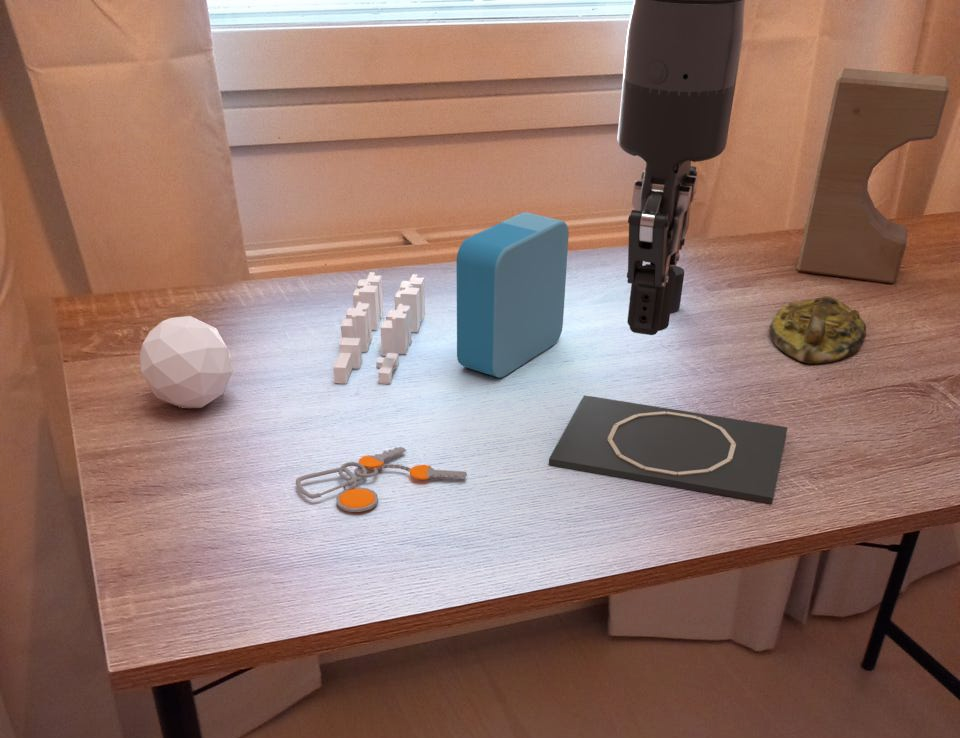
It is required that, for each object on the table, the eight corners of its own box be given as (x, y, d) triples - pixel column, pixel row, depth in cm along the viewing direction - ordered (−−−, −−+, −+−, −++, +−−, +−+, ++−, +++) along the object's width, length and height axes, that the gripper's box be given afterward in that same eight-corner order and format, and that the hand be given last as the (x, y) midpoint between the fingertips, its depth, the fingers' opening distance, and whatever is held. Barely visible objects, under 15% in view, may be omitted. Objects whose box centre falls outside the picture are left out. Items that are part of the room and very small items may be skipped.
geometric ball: (193, 441, 91) (140, 397, 84) (161, 379, 94) (107, 331, 87) (262, 393, 91) (214, 344, 83) (227, 331, 94) (179, 280, 86)
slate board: (786, 433, 88) (787, 426, 88) (771, 504, 79) (773, 496, 79) (583, 401, 92) (584, 393, 92) (548, 465, 83) (548, 457, 83)
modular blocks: (361, 309, 108) (359, 271, 105) (426, 311, 107) (425, 273, 105) (325, 394, 93) (321, 353, 90) (400, 397, 92) (398, 356, 90)
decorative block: (897, 268, 119) (950, 76, 106) (895, 285, 114) (949, 87, 102) (800, 255, 121) (840, 66, 109) (794, 272, 117) (835, 77, 104)
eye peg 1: (671, 318, 80) (679, 267, 78) (664, 334, 78) (671, 282, 75) (631, 312, 81) (637, 262, 78) (623, 328, 78) (629, 276, 76)
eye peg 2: (681, 303, 110) (687, 266, 107) (676, 315, 107) (681, 277, 105) (652, 299, 111) (656, 262, 108) (646, 310, 108) (651, 273, 106)
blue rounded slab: (525, 329, 104) (530, 207, 96) (562, 340, 102) (570, 216, 94) (455, 371, 97) (455, 242, 89) (495, 383, 95) (497, 253, 87)
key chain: (322, 523, 76) (321, 514, 76) (287, 478, 81) (286, 469, 81) (472, 481, 81) (472, 472, 80) (430, 441, 86) (430, 432, 85)
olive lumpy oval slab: (776, 311, 111) (761, 366, 100) (780, 268, 108) (765, 319, 97) (867, 313, 108) (862, 370, 97) (873, 269, 105) (869, 322, 94)
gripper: (721, 102, 62) (681, 367, 73) (749, 58, 72) (710, 296, 84) (601, 91, 64) (579, 352, 75) (645, 50, 74) (620, 284, 85)
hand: (648, 321), depth 79 cm, fingers closed on eye peg 1, 3 cm apart
